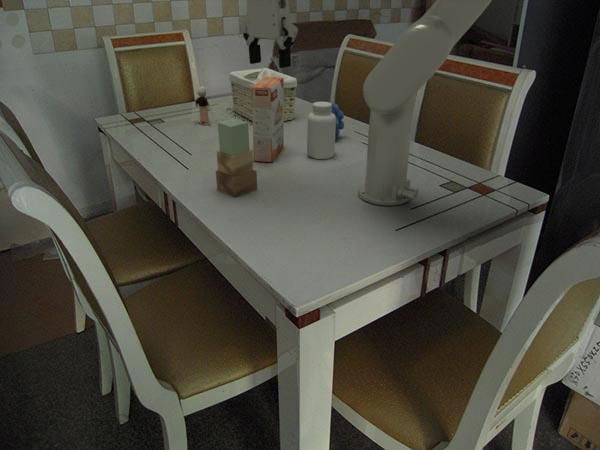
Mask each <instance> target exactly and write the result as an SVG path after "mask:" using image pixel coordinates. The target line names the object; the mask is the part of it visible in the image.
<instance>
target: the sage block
mask: <svg viewBox="0 0 600 450" xmlns="http://www.w3.org/2000/svg"><path fill="white" fill-rule="evenodd" d="M217 128H218V129H217V130H218V131H217V132H218V142H219V143H218V144H219V150H220V151H221V152H223V153H226V154H228V155H230V156H236V155H239V154H242V153H246V152H249V150H250V136H249V135H250V133H249V122H247V121H245V120H241V119H239V118H236V117H235V118H231V119H227V120H221V121H218V122H217Z"/></svg>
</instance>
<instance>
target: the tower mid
mask: <svg viewBox="0 0 600 450" xmlns="http://www.w3.org/2000/svg"><path fill="white" fill-rule="evenodd" d="M216 161H217V162H216V163H217V170H218V171H220V172H222V173H225V174H227V175H229V176H231V177H236V176H239V175H242V174H245V173H248V172H251V171H253V170H254V167H253V166H254V165H253V162H254V161H253V150H251V149H249V152H246V153H242V154H239V155H236V156H230V155H228V154H226V153H223V152H221V151H220V149H219V150H218V149H217V150H216Z"/></svg>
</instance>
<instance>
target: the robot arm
mask: <svg viewBox="0 0 600 450" xmlns="http://www.w3.org/2000/svg"><path fill="white" fill-rule="evenodd" d="M492 1H493V0H435V1H434V3H433V4H432V5H431V7H430V8H429V9H428V10H427V11H426V12H425V13H424V14H423V16H421V17H420V18H419V19H417V20H416V21H414V22H413V23H412V24H411V25H409V26H408V27H407V28H406V29H405V31H404V32H403V33H402V34H401V35H400V36H399V38H398V39H397V40H396V41H395V42H394V43H393V45H392V46H391V47H390V49H389V50H388V51H387V52H386V53H385V55H384V56H383V57H382V58H381V59H380V60H379V62H378V63H377V64H376V66H375V67H374V68H373V69H372V70H371V71H370V73H369V74H368V75H367V77H366V78H365V80H364V83H363V87H362V88H363V90H362V95H363V99H364V101H365V103H366V105H367V107H368V108H369V109H370V115H369V123H368V124H369V125H368V137H367V150H366V151H367V152H366V154H367V155H366V166H365V167H366V169H365V170H366V171H365V182H364V183H362V184H361V185H360V186H359V187H358V192H357V193H358V196H359V197H360V198H361V199H362V200H363V201H365V202H367V203H370V204H374V205H377V206H387V207H388V206H398V205H403V204H405V203H407V202H408V201H412V202H416V201H417V200H418V196H419V192H420V190H419V189H418V188H415V187H412V186H411V179H408V178H407V176H408V168H409V167H408V165H409V158H410V157H409V156H410V147H411V136H412V132H413V131H412V129H413V120H414V115H415V114H414V113H415V106H416V101H417V93H418V92H419V91H420V90H421V89H422V87H423V86H424V85H425V84H427V82H428V81H429V79H431V78H432V76H434V74H435V73H436V72H437V71H438V70H439V69H440V68H441V66H442V65H443V64H444V63H445V61H446V60H447V58H448V57H449V56H450V54H451V52H452V50H453V48H454V46H455V45H456V44H457V43H458V41H460V39H461V38H462V37H463V36H464V35H465V33H467V31H468V30H470V28H471V27H472V26H473V25H474V23H475V21H477V20H478V19H479V17H480V16H481V15H482V14H483V12H485V10H486V9H487V8H488V6H489V5H490V4H491V2H492ZM289 2H290V1H289V0H246V20H244V22H242V23H241V24H240V25H239V26H240V30H241V32H242V37H243V38H244V41H246V43H245V44H246V47H248V56H249V57H248V58H249V64H250V65H254V64H259V63H261V62H262V50H261V44H259V43H260V40H261V39H262V40H269V41H270V40H272V41H276V43H277V44H278V46H279V48H280V49H278V66H279V68H280V69H284V68H285V69H286V68H290V67H291V65H292V61H291V49H292V48H293V46H294V44H295V42H296V40H297V39H296V37H297V35H298V32H299V28H298V27H297V26H296V25H295V24H293V23H292V21H291V20H292V19H291V11H290V4H289Z"/></svg>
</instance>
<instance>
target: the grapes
mask: <svg viewBox="0 0 600 450" xmlns="http://www.w3.org/2000/svg"><path fill="white" fill-rule="evenodd" d="M331 104H332V109H331V110H332V111H331V113H333V114H334V115H335V117H336V131H335V138H338V137H339V136H340V130H344V127H345V123H344V121H343V120H344V118H345V114H344V111H342V110H340V107H339V105H338V104H336V103H331Z"/></svg>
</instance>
